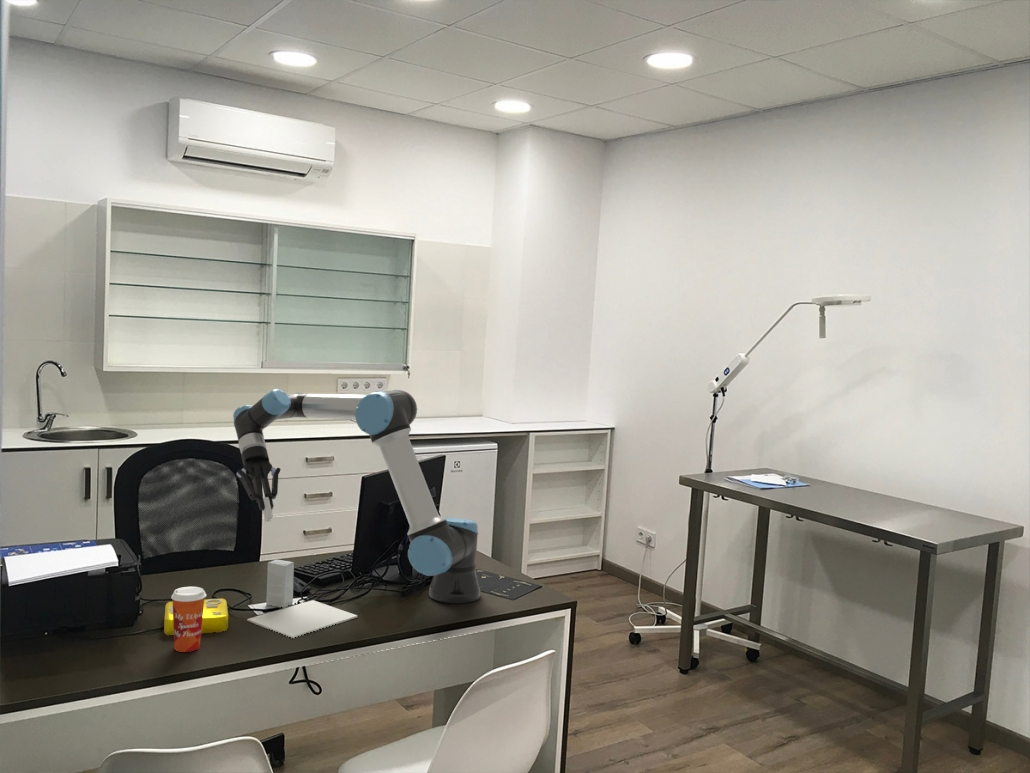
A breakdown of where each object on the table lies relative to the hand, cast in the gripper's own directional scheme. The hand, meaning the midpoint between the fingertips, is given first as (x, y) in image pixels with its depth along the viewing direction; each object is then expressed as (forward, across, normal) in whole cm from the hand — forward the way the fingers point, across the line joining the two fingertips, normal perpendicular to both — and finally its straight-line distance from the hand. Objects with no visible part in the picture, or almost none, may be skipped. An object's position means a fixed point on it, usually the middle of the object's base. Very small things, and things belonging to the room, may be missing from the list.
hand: (269, 518), depth 243 cm
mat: (+33, -2, +2) cm, 33 cm away
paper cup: (+38, +29, +7) cm, 49 cm away
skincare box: (+23, 0, -8) cm, 24 cm away
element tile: (+27, +23, -5) cm, 36 cm away
